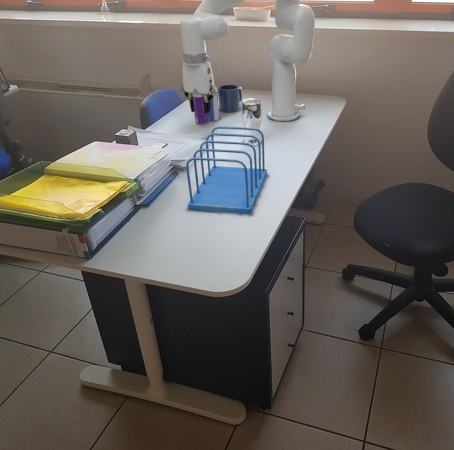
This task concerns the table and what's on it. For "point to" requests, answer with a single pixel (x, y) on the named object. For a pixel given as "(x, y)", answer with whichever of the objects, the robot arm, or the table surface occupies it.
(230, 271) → the table surface
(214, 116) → the blue white carton
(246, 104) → the beer glass
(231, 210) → the file sorter
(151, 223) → the table surface
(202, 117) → the container
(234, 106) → the coffee mug
